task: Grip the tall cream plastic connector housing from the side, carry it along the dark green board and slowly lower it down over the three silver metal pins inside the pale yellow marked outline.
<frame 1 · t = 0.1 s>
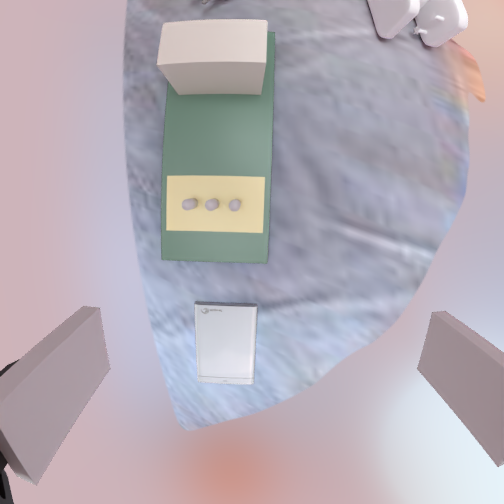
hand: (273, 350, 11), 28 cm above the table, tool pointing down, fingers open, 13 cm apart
hard drive: (226, 341, 42), on the table
cable organizer: (394, 10, 32), on the table
connector housing: (220, 75, 33), point 1 cm above the table, touching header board
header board: (218, 138, 36), on the table
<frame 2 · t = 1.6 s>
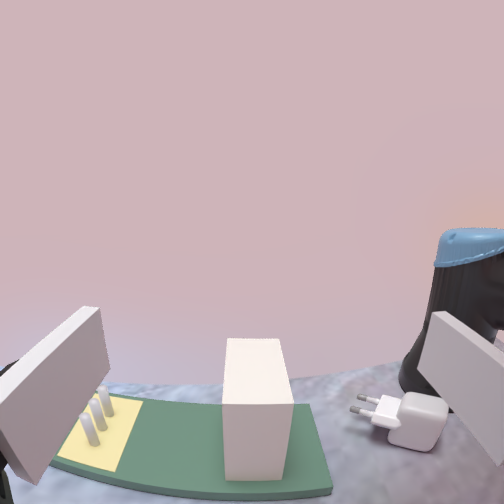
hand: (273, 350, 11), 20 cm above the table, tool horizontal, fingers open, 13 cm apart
power adapter: (390, 436, 28), on the table
connector housing: (251, 444, 26), point 1 cm above the table, touching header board
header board: (174, 448, 26), on the table
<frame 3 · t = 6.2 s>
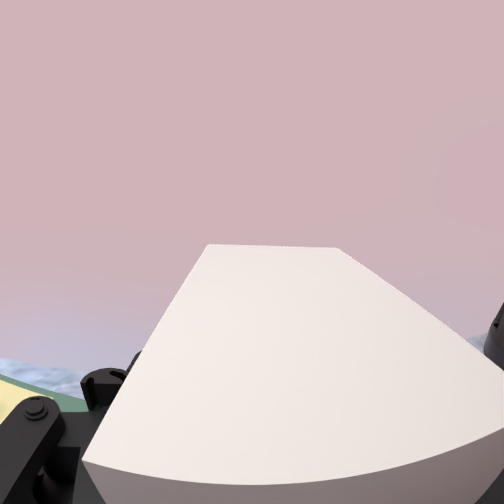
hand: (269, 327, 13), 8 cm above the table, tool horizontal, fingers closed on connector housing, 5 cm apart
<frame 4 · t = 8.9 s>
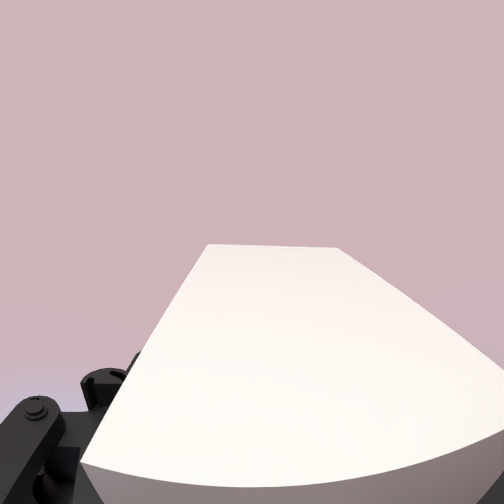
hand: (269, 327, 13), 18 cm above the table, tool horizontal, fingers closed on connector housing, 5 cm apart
when the fingers open (8 cm above the table, at t = 12.0 s): connector housing stays where it is, resting on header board.
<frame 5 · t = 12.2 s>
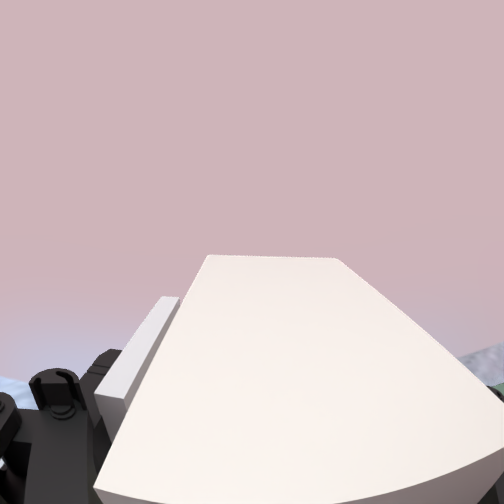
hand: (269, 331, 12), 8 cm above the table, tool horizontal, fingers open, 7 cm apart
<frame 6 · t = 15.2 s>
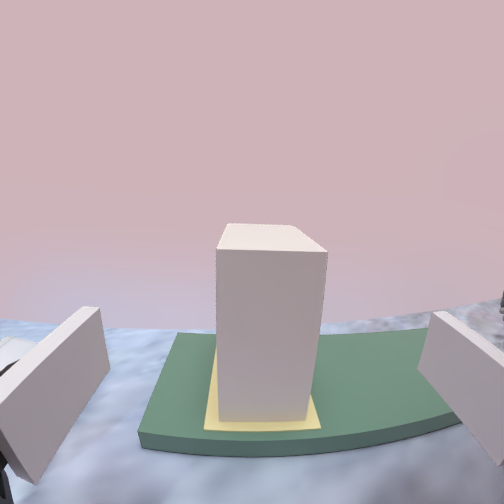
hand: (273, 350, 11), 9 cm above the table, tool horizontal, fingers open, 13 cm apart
hard drive: (33, 382, 19), on the table
connector housing: (258, 375, 20), point 2 cm above the table, touching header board
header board: (360, 386, 21), on the table
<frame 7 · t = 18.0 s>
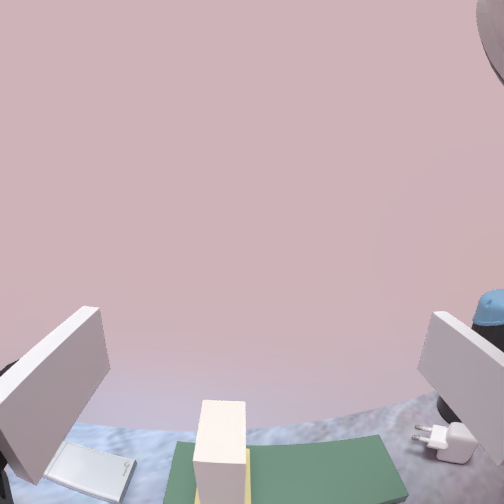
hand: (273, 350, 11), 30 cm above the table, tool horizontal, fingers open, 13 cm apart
hard drive: (90, 474, 28), on the table
power adapter: (437, 453, 32), on the table
connector housing: (224, 478, 30), point 2 cm above the table, touching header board
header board: (286, 484, 31), on the table
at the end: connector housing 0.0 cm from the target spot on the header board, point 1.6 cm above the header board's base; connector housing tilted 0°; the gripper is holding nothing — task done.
